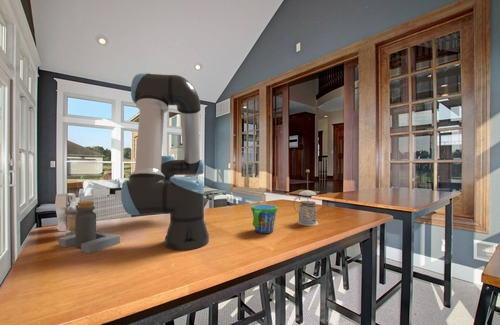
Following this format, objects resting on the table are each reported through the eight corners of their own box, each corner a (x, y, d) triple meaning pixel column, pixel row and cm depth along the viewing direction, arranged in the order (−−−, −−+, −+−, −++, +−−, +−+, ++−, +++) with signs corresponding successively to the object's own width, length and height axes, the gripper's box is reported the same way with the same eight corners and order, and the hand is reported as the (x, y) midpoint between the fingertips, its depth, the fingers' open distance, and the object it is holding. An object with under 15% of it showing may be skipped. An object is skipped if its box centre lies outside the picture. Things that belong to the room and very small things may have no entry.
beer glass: (51, 230, 98) (51, 195, 98) (69, 226, 104) (69, 192, 104) (62, 232, 95) (61, 195, 95) (79, 228, 101) (79, 193, 101)
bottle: (85, 248, 77) (85, 203, 77) (71, 247, 78) (70, 203, 78) (100, 242, 83) (100, 200, 83) (86, 241, 84) (86, 200, 84)
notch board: (119, 242, 83) (119, 235, 83) (88, 253, 73) (88, 245, 73) (90, 236, 90) (90, 230, 90) (58, 245, 80) (58, 238, 80)
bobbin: (91, 234, 93) (90, 209, 93) (71, 239, 87) (71, 212, 87) (80, 231, 96) (80, 207, 96) (60, 236, 90) (60, 210, 90)
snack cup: (263, 224, 106) (263, 202, 106) (284, 228, 100) (284, 205, 100) (242, 233, 93) (242, 208, 93) (264, 238, 87) (264, 211, 87)
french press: (321, 225, 104) (321, 170, 104) (295, 225, 104) (295, 170, 104) (315, 220, 114) (315, 169, 114) (291, 220, 114) (291, 169, 114)
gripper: (170, 198, 101) (126, 205, 81) (131, 196, 111) (83, 202, 92) (170, 181, 101) (126, 184, 82) (131, 180, 111) (83, 183, 92)
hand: (103, 193), depth 87 cm, fingers open, 13 cm apart
